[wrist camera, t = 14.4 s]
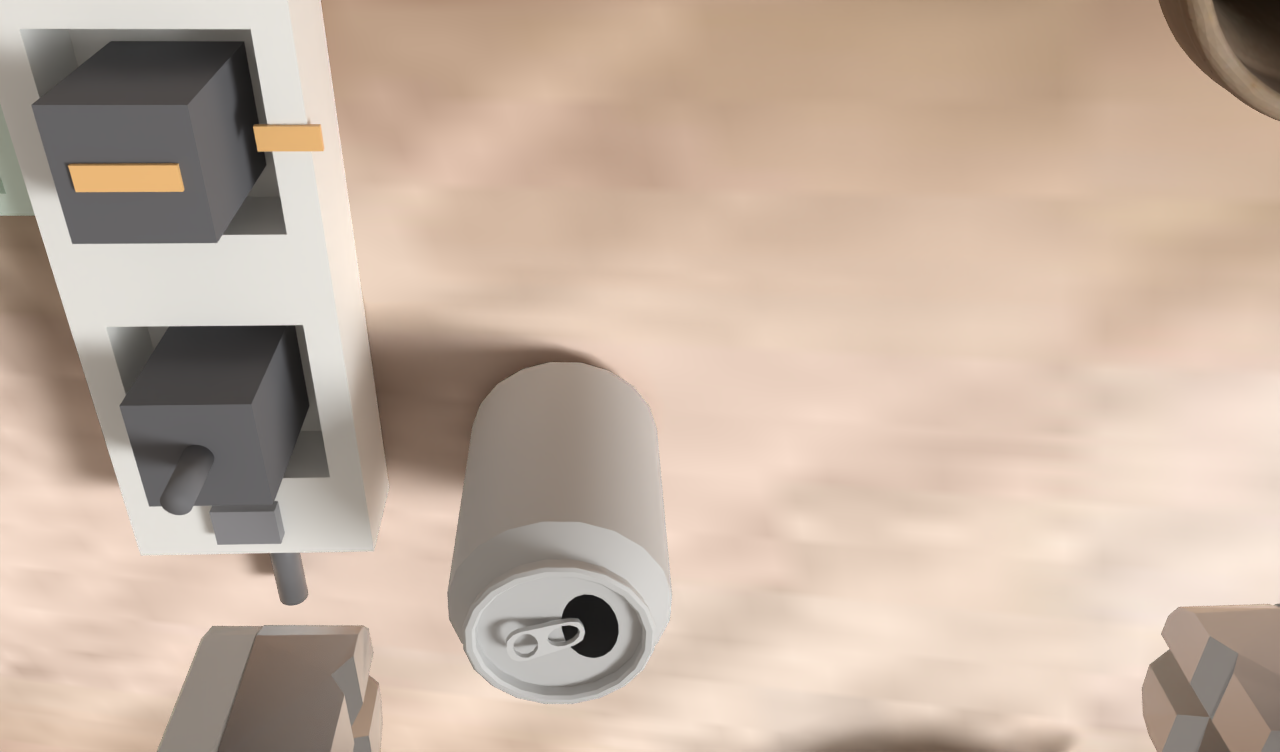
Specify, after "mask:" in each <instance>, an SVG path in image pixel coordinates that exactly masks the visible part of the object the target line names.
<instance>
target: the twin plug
mask: <svg viewBox="0 0 1280 752" xmlns="http://www.w3.org/2000/svg"><path fill="white" fill-rule="evenodd" d="M309 406H310V405H309V400H308V394H307V389H306V383H305V378H304V372H303V367H302V361H301V356H300V350H299V345H298V339H297V334H296V328H295V325H254V326H169V327H168V329H167V330H166V332H165V333H164V335H163V337H162V338H161V340H160V341H159V343H158V345H157V346H156V348H155V349H154V351H153V353H152V354H151V356H150V357H149V359H148V361H147V362H146V364H145V365H144V367H143V369H142V370H141V372H140V373H139V375H138V377H137V378H136V380H135V381H134V383H133V385H132V386H131V388H130V389H129V391H128V393H127V394H126V396H125V397H124V399H123V401H122V402H121V404H120V405H119V407H120V410H121V413H122V417H123V420H124V423H125V427H126V430H127V434H128V437H129V440H130V444H131V447H132V450H133V454H134V457H135V461H136V464H137V467H138V471H139V474H140V477H141V481H142V484H143V488H144V491H145V494H146V498H147V501H148V504H149V507H156V506H162V508H163V509H164V510H165V511H167V512H169V513H171V514H174V515H185V514H187V513H189V512H190V511H191V510H192V508H193V506H220V505H273V504H274V501H275V498H276V495H277V493H278V490H279V487H280V485H281V482H282V479H283V477H284V474H285V471H286V468H287V466H288V463H289V460H290V458H291V455H292V452H293V450H294V447H295V444H296V441H297V439H298V436H299V433H300V431H301V428H302V425H303V422H304V420H305V417H306V414H307V412H308V409H309Z"/></svg>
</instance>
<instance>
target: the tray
mask: <svg viewBox="0 0 1280 752" xmlns="http://www.w3.org/2000/svg"><path fill="white" fill-rule="evenodd" d="M0 216H35V214H34V211H33V207H32V204H31V201H30V198H29V194H28V191H27V188H26V185H25V182H24V178H23V175H22V172H21V169H20V166H19V162H18V159H17V156H16V153H15V149H14V146H13V143H12V140H11V137H10V133H9V130H8V127H7V124H6V121H5V117H4V114H3V111H2V108H1V105H0Z"/></svg>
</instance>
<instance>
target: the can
mask: <svg viewBox="0 0 1280 752" xmlns="http://www.w3.org/2000/svg"><path fill="white" fill-rule="evenodd" d="M447 594H448V610H449V620H450V622H451V624H452V626H453V627H454V629H455V631H456V633H457V635H458V637H459V639H460V641H461V643H462V644H463V649H464V651H465V653H466V655H467V657H468V659H469V661H470V663H471V665H472V666H473V668H474V670H475V671H476V672H478V673H479V674H480V675H481V676H482V677H483V678H484V679H485V680H486V681H487V682H489V683H490V684H491V685H492V686H494V687H496V688H498V689H500V690H502V691H504V692H506V693H508V694H510V695H512V696H514V697H516V698H520V699H525V700H529V701H534V702H538V703H543V704H574V703H579V702H583V701H588V700H593V699H597V698H601V697H603V696H605V695H607V694H609V693H611V692H613V691H616V690H618V689H620V688H622V687H624V686H626V685H627V684H628V683H629V682H630V681H631V680H632V679H633V678H634V677H636V676H637V675H638V674H639V673H640V672H641V671H642V670H643V669H644V667H645V666H646V664H647V662H648V660H649V658H650V656H651V655H652V653H653V651H654V646H655V645H656V644H657V643H658V641H659V639H660V637H661V635H662V634H663V632H664V630H665V628H666V626H667V624H668V623H669V621H670V613H671V601H672V589H671V578H670V567H669V556H668V545H667V534H666V523H665V512H664V501H663V490H662V479H661V468H660V457H659V446H658V435H657V428H656V425H655V422H654V419H653V416H652V413H651V410H650V406H649V405H648V404H647V403H646V401H645V400H644V399H643V398H642V396H641V395H640V394H639V393H638V391H637V390H636V389H635V388H634V386H632V385H631V384H629V383H628V382H626V381H624V380H623V379H621V378H620V377H618V376H617V375H615V374H614V373H612V372H611V371H608V370H605V369H601V368H598V367H595V366H591V365H588V364H584V363H578V362H549V363H545V364H541V365H537V366H533V367H529V368H525V369H522V370H520V371H518V372H517V373H515V374H513V375H511V376H510V377H508V378H506V379H505V380H503V381H501V382H500V383H498V384H497V385H496V386H495V387H494V389H493V390H492V391H491V392H490V393H489V394H488V395H487V397H486V398H485V399H484V400H483V401H482V402H481V404H480V406H479V409H478V412H477V415H476V417H475V420H474V423H473V426H472V432H471V438H470V445H469V452H468V459H467V465H466V472H465V479H464V485H463V492H462V499H461V506H460V512H459V519H458V526H457V532H456V539H455V546H454V553H453V559H452V566H451V573H450V579H449V586H448V593H447Z"/></svg>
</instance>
